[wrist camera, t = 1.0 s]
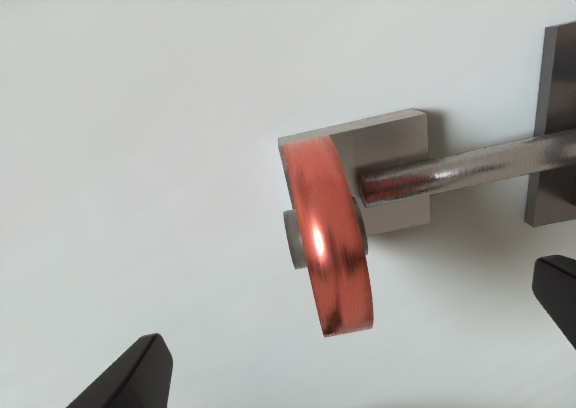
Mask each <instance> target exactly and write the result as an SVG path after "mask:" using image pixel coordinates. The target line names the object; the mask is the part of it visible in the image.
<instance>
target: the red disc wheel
mask: <svg viewBox="0 0 576 408" xmlns="http://www.w3.org/2000/svg"><path fill="white" fill-rule="evenodd" d="M278 147H279V151H280V156H281V160H282V164H283V169H284V173H285V177H286V182H287V186H288V190H289V195H290V199H291V203H292V208H293V210H289V211H284V222H285V229H286V234H287V239H288V244H289V249H290V253H291V257H292V261H293V264H294V267H295V269H301V268H305V267H308V271H309V276H310V280H311V285H312V289H313V294H314V298H315V303H316V307H317V311H318V315H319V320H320V324H321V328H322V331H323V335H324V337H330V336H335V335H341V334H346V333H351V332H356V331H362V330H367V329H371V328H372V326H373V302H372V293H371V286H370V279H369V273H368V267H367V262H366V257H365V255H367V254H368V244H367V236H371V235H376V234H381V233H386V232H391V231H396V230H400V229H405V228H410V227H415V226H420V225H425V224H430V223H431V222H430V194H435V193H440V192H445V191H450V190H454V189H459V188H464V187H469V186H473V185H478V184H483V183H488V182H493V181H497V180H502V179H507V178H512V177H516V176H521V175H526V174H531V173H536V172H540V171H545V170H550V169H555V168H559V167H564V166H569V165H574V164H576V128H575V129H571V130H566V131H561V132H557V133H552V134H548V135H543V136H538V137H534V138H529V139H524V140H520V141H515V142H510V143H506V144H501V145H496V146H492V147H487V148H482V149H478V150H473V151H468V152H464V153H459V154H454V155H450V156H445V157H441V158H436V159H431V160H429V158H428V126H427V113H425V112H421V111H418V110H415V109H407V110H403V111H398V112H394V113H389V114H385V115H381V116H376V117H372V118H367V119H363V120H358V121H354V122H349V123H345V124H340V125H336V126H331V127H327V128H323V129H318V130H314V131H309V132H305V133H300V134H296V135H291V136H287V137H282V138H278Z"/></svg>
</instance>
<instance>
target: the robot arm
mask: <svg viewBox="0 0 576 408" xmlns="http://www.w3.org/2000/svg"><path fill="white" fill-rule="evenodd" d="M532 290H533V293H534V295H535V297H536V298H537V300H538V301H539V302H540V304H541V305H542V306H543V308H544V309H545V310H546V311H547V313H548V314H549V315H550V317H551V318H552V319H553V321H554V322H555V323H556V325H557V326H558V327H559V329H560V330H561V331H562V332H563V334H564V335H565V336H566V338H567V339H568V340H569V342H570V343H571V344H572V346H573V347H574V348H575V349H576V260H574V259H571V258H568V257H564V256H560V255H551V256H546V257H541V258H539V259H537V260H536V262H535V265H534V273H533V281H532ZM172 369H173V359H172V355H171V353H170V351H169V349H168V347H167V345H166V343H165V342H164V340H163V338H162V336H161V335H160V334H158V333H154V334H149V335H144V336H142V337H140V338H139V339H138V340H137V341H136V342H135V343H134V344H133V345H132V346H131V347H129V348H128V349H127V350H126V351H125V352H124V353H123V354H122V355H121V356H120V357H119V358H118V359H117V360H116V361H115V362H114V363H113V364H112V365H110V366H109V367H108V368H107V369H106V370H105V371H104V372H103V373H102V374H101V375H100V376H99V377H98V378H97V379H96V380H95V381H94V382H93V383H92V384H90V385H89V386H88V387H87V388H86V389H85V390H84V391H83V392H82V393H81V394H80V395H79V396H78V397H77V398H76V399H75V400H74V401H73V402H71V403H70V404H69V405H68V406H67V407H66V408H167V403H168V396H169V389H170V382H171V376H172Z"/></svg>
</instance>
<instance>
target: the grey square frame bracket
mask: <svg viewBox="0 0 576 408" xmlns="http://www.w3.org/2000/svg"><path fill="white" fill-rule="evenodd" d="M575 128H576V21H572V22H568V23H563V24H559V25H555V26H550V27H546V28H545V37H544V46H543V55H542V65H541V74H540V83H539V92H538V102H537V111H536V120H535V129H534V137H538V136H543V135H548V134H552V133H557V132H561V131H566V130H571V129H575ZM572 219H576V164H574V165H569V166H564V167H559V168H555V169H550V170H545V171H540V172H536V173H531V174H530V176H529V185H528V194H527V204H526V213H525V222H526V223H527V224H529V225H531V226H532V227H537V226H542V225H547V224H552V223H557V222H562V221H567V220H572Z"/></svg>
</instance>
